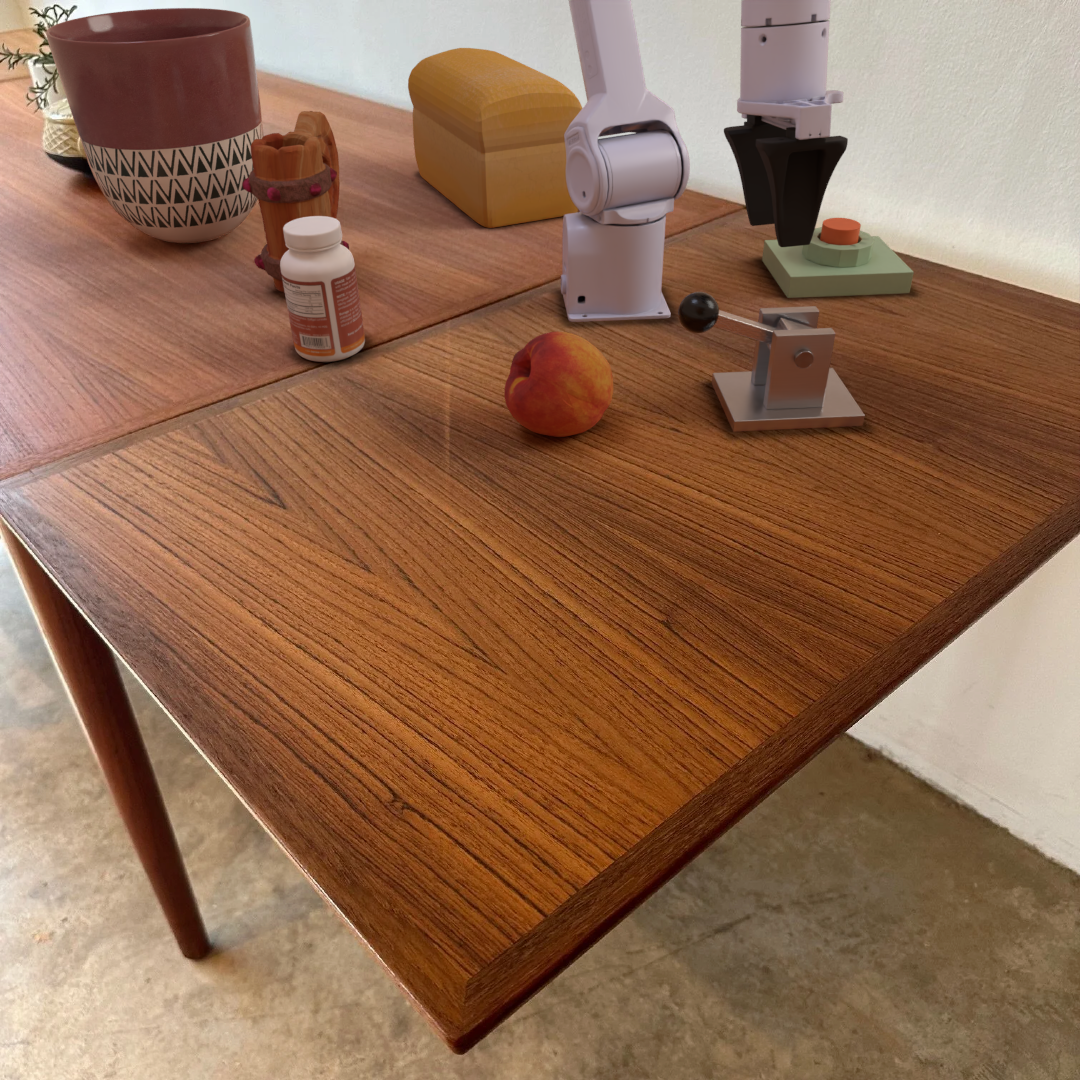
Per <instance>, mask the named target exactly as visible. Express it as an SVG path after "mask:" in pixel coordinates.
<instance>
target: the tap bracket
mask: <svg viewBox="0 0 1080 1080" xmlns="http://www.w3.org/2000/svg"><path fill="white" fill-rule="evenodd" d="M758 312H759V313H758V321H757V322H759V323H762V324H765V325H768V326H771V327H774V328H776V326H777V324H778V322H779V320H780V318H784V319H787V320H790V321H793V322H796V323H799V324H802V325H805V326H809V327H812V328H813V329H794V330H773V336H772V343H771V350H769V348H768V346H767V344H768V343H765V342H761V341H758V340H755V343H754V351H753V358H752V359H753V360H752V368H751V370H750V371H749V370H748V371H728V372H727V371H725V372H712V373H711V385H712V387H713V390H714V392H715V394H716V397H717V398H718V401H719V403H720V405H721V408H722V410H723V412H724V414H725V416H726V419H727V422H728V423H729V425H730V426H729V427H731V430H732V432H733V433H737V432H738V433H739V432H759V431H780V430H782V431H783V430H800V429H802V430H804V429H825V428H844V427H845V428H846V427H863V426H864V421H865V415H866V414H865V413H864V412H863V410H862V408H861V407H860V406H859V404H858V403H857V401H856V400H855V398H854V397H853V395H852V394H851V392H850V390H849V389H848V388H847V387H846V384H844V382H843V380H842V379H841V378H840V376H839V375H838V373H837V371H836V370H835V368H833V367H831V361H832V358H833V357H832V356H833V351H834V344H835V340H836V332H835V330H834V329H833V327H821V328H818V323H819V317H820V309H819V308H818V307H817V306H816V305H811V306H784V307H760V308H759V311H758Z"/></svg>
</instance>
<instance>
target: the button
mask: <svg viewBox="0 0 1080 1080" xmlns="http://www.w3.org/2000/svg"><path fill="white" fill-rule="evenodd" d="M861 226H862V225H861V223H860V222H859V221H857V220H855V219H852V218H848V217H847V218H846V217H831V218H826V219H824V220H823V221H822V225H821V227H822V230H821V237H820V241H823V242H825V243H828V244H834V245H853V244H856V243H858V238H859V233H860V231H861Z"/></svg>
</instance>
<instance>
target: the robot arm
mask: <svg viewBox="0 0 1080 1080" xmlns="http://www.w3.org/2000/svg"><path fill="white" fill-rule="evenodd" d="M831 3H832V2H831V0H740V66H739V67H740V69H739V71H740V75H739V76H740V77H739V78H740V79H739V80H740V81H739V84H740V85H739V98H738V99H737V100H736V111H737V113H738V114H741V118H742V119H745V120H746V121H744V122H743V125H734V126H727V127H724V129H723V134H724V137H725V139H726V141H727V143H728V145H729V147H730V149H731V151H732V154H733V156H734V159H735V162H736V166H737V170H738V173H739V177H740V182H741V186H742V192H743V198H744V204H745V210H746V213H747V218H748V222H749V224H750V226H751V227H757V226H767V225H774V232H775V237H776V240H777V241H778V245H779V246H780V247H792V246H802V245H809V244H810V242H811V240H812V236H813V233H814V230H815V229H816V226H817V223H818V218H819V214H820V211H821V207H822V204H823V200H824V197H825V193H826V191H827V187H828V185H829V183H830V180H831V178H832V176H833V173H834V171H835V170H836V167H837V165H838V164H839V162H840V160H841V159H842V157H843V155H844V154H845V152H846V150H847V148H848V143H849V142H848V140H849V139H848V138H847V137H846V136H842V135H831V127H832V109H833V108H832V107H833V105H834V104H841V103H843V102H844V91H841V90H838V89H830V90H829V89H828V90H827V82H828V79H827V78H828V60H829V40H830V39H829V37H830V19H831ZM568 5H569V10H570V16H571V21H572V27H573V32H574V37H575V43H576V48H577V53H578V58H579V64H580V71H581V75H582V80H583V86H584V91H585V96H586V103H585V104H584V106H582V110H581V111H580V112H579V113H578V115H577V116H576V117H575V118H574V119H573V121H572V122H571V123H570V125H569V127H568V128H567V130H566V132H565V134H564V138H565V147H566V183H567V188H568V192H569V195H570V197H571V199H572V201H573V203H574V204H575V206H576V207H577V208H578V212H577V213H570V214H565V215H564V216H562V217H563V218H562V248H561V249H562V252H561V253H562V256H561V257H562V261H561V263H562V269H561V270H562V272H561V273H562V274H561V275H560V293H561V295H562V297H563V302H564V307H565V310H566V315H567V319H568V321H569V322H571V323H580V322H581V323H582V322H585V323H586V322H607V321H632V320H656V319H669V318H671V314H672V313H671V310H670V308H669V305H668V304H667V301H666V299H665V296H664V294H663V292H662V285H663V269H664V256H665V255H664V252H665V239H666V221H667V214H669V213H673V212H674V209H675V208H674V207H675V201H676V200H678V199H680V198H681V197H682V196H683V194H684V193H685V191H686V189H687V186H688V183H689V180H690V174H691V159H690V154H689V150H688V147H687V145H686V143H685V141H684V139H683V137H682V135H681V132H680V130H679V127H678V123H677V119H676V113H675V109H674V108H673V107H672V106H671V105H669V104H668V103H667V102H665V101H664V100H662V99H661V98H659V97H658V96H656V94H655V93H653V92H651V91H650V90H649V89H648V88H647V85H646V80H645V79H646V78H645V74H644V67H643V63H642V56H641V51H640V45H639V38H638V33H637V28H636V21H635V16H634V10H633V4H632V0H568ZM627 133H629V134H627ZM620 134H622V135H620ZM614 135H616V136H614ZM607 136H609V137H607ZM600 137H601V138H600ZM602 137H603V138H602Z"/></svg>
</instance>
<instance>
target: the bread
mask: <svg viewBox="0 0 1080 1080" xmlns="http://www.w3.org/2000/svg"><path fill="white" fill-rule="evenodd" d="M407 80H408V81H407V89H408V95H409V98H410V102H411V104H412V107H413V108H412V135H413V137H412V138H413V149H414V158H415V161H416V165H417V169H418V173H419V175H420V177H421V178H422V179H423V180H424V181H425V182H427V183H428V184H429V185H430V186H432V187H433V188H434V189H435V190H437V192H439V193H440V194H442V196H444V197H445V198H446V199H447V200H448V201H450V202H451V203H452V204H454V206H455V207H457V208H458V209H459V210H461V211H462V212H463V213H464V214H465V215H467V216H468V217H469V218H470V219H472V220H473V221H474V222H476V223H477V224H479V225H480V226H482V227H484V228H488V229H489V228H491V229H492V228H499V227H506V226H512V225H517V224H523V223H530V222H537V221H541V220H543V221H544V220H548V219H554V218H561V217H564V215H565V214H570V213H577V212H579V209H578V208H577V207H576V206H575V204H574V203H573V201H572V199H571V197H570V195H569V192H568V188H567V183H566V147H565V138H564V134H565V132H566V130H567V128H568V127H569V125H570V123H571V122H572V121H573V119H574V118H575V117H576V116H577V115H578V113H579V112H580V111H581V110H582V108H583V106H582V103H581V102H580V100H579V98H578V97H577V95H576V94H575V93H574V92H573V91H572V90H571V89H570V88H569V87H567V86H566V85H565V84H564V83H563V82H561V81H559V80H558V79H555V78H554V77H552V76H549V75H547V74H546V73H543V72H541V71H539V70H537V69H534V68H533V67H530V66H528V65H526V64H524V63H522V62H520V61H517V60H516V59H513V58H511V57H509V56H506V55H504V54H502V53H500V52H497V51H494V50H489V49H483V48H475V47H458V48H452V49H448V50H445V51H442V52H439V53H436V54H432V55H429V56H427V57H425V58H423V59H421V60H420V61H418V63H417V64H416V65H415V66H414V67H413V68H412V69H411V71H410V73H409V75H408V79H407Z"/></svg>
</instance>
